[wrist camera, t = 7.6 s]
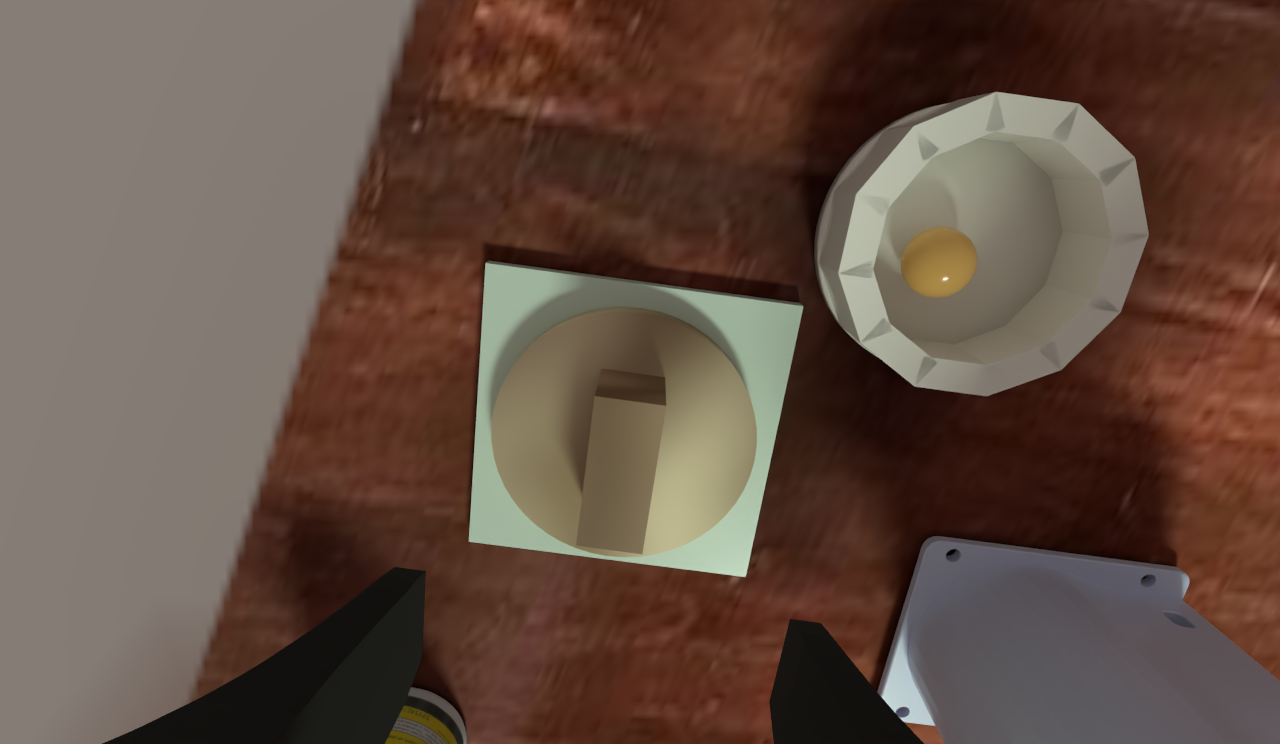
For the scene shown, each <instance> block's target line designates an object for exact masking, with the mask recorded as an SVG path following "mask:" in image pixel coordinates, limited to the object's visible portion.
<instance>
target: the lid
mask: <svg viewBox="0 0 1280 744" xmlns="http://www.w3.org/2000/svg"><path fill="white" fill-rule="evenodd" d="M491 441H492V449H493V456H494V460H495V463H496V467H497V470H498V473H499V475H500V477H501V480H502V482H503V484H504V486H505V488H506V490H507V491H508V493H509V495H510V496H511V498H512V500H513V501H514V502H515V503H516V505H517V506H518V507H519V508H520V510H521V511H522V512H523V513H524V514H525V515H526V516H527V517H528V518H529V519H530V520H531V521H532V522H533V523H534V524H535V525H537V526H538V527H539V528H541V529H542V530H543V531H545V532H546V533H547V534H549V535H551V536H552V537H554V538H556V539H557V540H559V541H561V542H563V543H565V544H568V545H570V546H572V547H574V548H577V549H580V550H583V551H587V552H590V553H594V554H599V555H604V556H613V557H641V556H648V555H654V554H659V553H662V552H666V551H670V550H673V549H675V548H678V547H680V546H683V545H685V544H687V543H689V542H691V541H693V540H695V539H697V538H698V537H700V536H702V535H703V534H704V533H706V532H707V531H709V530H710V529H711V528H713V527H714V526H715V525H716V524H717V523H718V522H719V521H720V520H722V519H723V518H724V517H725V516H726V515H727V513H728V512H729V511H730V510H731V508H732V507H733V506H734V505H735V504H736V502H737V500H738V499H739V497H740V496H741V494H742V492H743V491H744V489H745V486H746V484H747V482H748V480H749V477H750V475H751V471H752V468H753V464H754V461H755V454H756V447H757V427H756V420H755V413H754V410H753V406H752V403H751V400H750V396H749V394H748V391H747V389H746V386H745V384H744V382H743V380H742V378H741V376H740V373H739V372H738V370H737V369H736V367H735V366H734V364H733V363H732V361H731V359H730V358H729V357H728V356H727V355H726V354H725V352H724V351H723V350H722V349H721V348H720V347H719V346H718V345H717V344H716V343H715V342H714V341H713V340H712V339H710V338H709V337H708V336H707V335H706V334H704V333H703V332H701V331H700V330H698V329H697V328H695V327H694V326H692V325H690V324H688V323H686V322H684V321H682V320H680V319H678V318H676V317H673V316H670V315H667V314H665V313H662V312H658V311H653V310H648V309H644V308H632V307H614V308H603V309H598V310H592V311H588V312H585V313H582V314H579V315H576V316H573V317H571V318H568V319H566V320H564V321H562V322H560V323H558V324H556V325H555V326H553V327H552V328H550V329H549V330H547V331H546V332H544V333H543V334H541V335H540V336H539V337H538V338H537V339H536V340H535V341H533V342H532V343H531V344H530V345H529V346H528V347H527V349H526V350H525V351H524V352H523V353H522V354H521V355H520V357H519V358H518V359H517V361H516V362H515V364H514V365H513V367H512V368H511V370H510V372H509V373H508V375H507V376H506V378H505V380H504V382H503V384H502V386H501V388H500V391H499V393H498V396H497V399H496V403H495V406H494V410H493V417H492V424H491Z"/></svg>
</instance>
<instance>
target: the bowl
mask: <svg viewBox="0 0 1280 744" xmlns="http://www.w3.org/2000/svg"><path fill="white" fill-rule="evenodd" d="M1148 236H1149V233H1148V227H1147V222H1146V216H1145V210H1144V205H1143V199H1142V194H1141V188H1140V183H1139V177H1138V171H1137V166H1136V160H1135V157H1134V156H1133V155H1132V154H1131V153H1130V152H1129V151H1128V150H1127V149H1126V148H1125V147H1124V146H1122V145H1121V144H1120V143H1119V142H1118V141H1117V140H1116V139H1115V138H1114V137H1113V136H1112V135H1111V134H1110V133H1109V132H1108V131H1107V130H1106V129H1105V128H1104V127H1103V126H1102V125H1101V124H1100V123H1099V122H1098V121H1097V120H1096V119H1094V118H1093V117H1092V116H1091V115H1090V114H1089V113H1088V112H1087V111H1086V110H1085V109H1084V108H1083V107H1082V106H1081V105H1080V104H1078V103H1071V102H1064V101H1057V100H1050V99H1043V98H1036V97H1029V96H1022V95H1015V94H1008V93H1001V92H993V93H988V94H983V95H978V96H973V97H969V98H964V99H959V100H956V101H954V102H951V103H947V104H942V105H937V106H932V107H927V108H924V109H921V110H919V111H916V112H913V113H910V114H908V115H906V116H904V117H902V118H900V119H898V120H896V121H894V122H892V123H890V124H889V125H887V126H886V127H884V128H883V129H881V130H880V131H878V132H877V133H875V134H874V135H873V136H872V137H871V138H869V139H868V140H867V141H866V142H865V143H863V144H862V145H861V146H860V147H859V148H858V149H857V151H856V152H855V153H854V154H853V155H852V156H851V157H850V158H849V159H848V161H847V162H846V163H845V165H844V166H843V167H842V169H841V170H840V171H839V173H838V174H837V176H836V178H835V180H834V181H833V183H832V185H831V187H830V188H829V190H828V193H827V195H826V197H825V200H824V202H823V205H822V207H821V211H820V214H819V218H818V222H817V226H816V233H815V240H814V262H815V271H816V276H817V280H818V284H819V288H820V291H821V294H822V296H823V298H824V301H825V303H826V305H827V307H828V309H829V310H830V312H831V314H832V315H833V317H834V319H835V320H836V321H837V322H838V324H839V325H840V326H841V327H842V329H843V330H844V331H845V332H846V333H848V334H849V335H850V336H851V337H852V338H853V339H854V340H855V341H856V342H857V343H858V344H860V345H861V346H862V347H863V348H865V349H866V350H867V351H869V352H870V353H872V354H873V355H875V356H876V357H878V358H880V359H881V360H882V361H884V362H885V363H886V364H887V365H889V366H890V367H891V368H892V369H893V370H895V371H896V372H897V373H898V374H900V375H901V376H902V377H903V378H905V379H906V380H907V381H908V382H910V383H911V384H912V385H913V386H914V387H921V388H929V389H936V390H944V391H951V392H959V393H966V394H973V395H981V396H989V395H992V394H995V393H998V392H1001V391H1003V390H1006V389H1009V388H1012V387H1015V386H1018V385H1020V384H1023V383H1026V382H1029V381H1032V380H1035V379H1037V378H1040V377H1043V376H1046V375H1049V374H1052V373H1054V372H1057V371H1060V370H1062V369H1063V368H1064V367H1065V366H1066V365H1067V364H1068V363H1069V362H1070V361H1071V360H1072V359H1073V358H1074V357H1075V356H1076V355H1077V354H1078V353H1079V352H1080V351H1081V350H1082V349H1083V348H1084V347H1085V346H1087V345H1088V344H1089V343H1090V342H1091V341H1092V340H1093V339H1094V338H1095V337H1096V336H1097V335H1098V334H1099V333H1100V332H1101V331H1102V330H1103V329H1104V328H1105V327H1106V326H1107V325H1108V324H1109V323H1110V322H1111V321H1112V320H1113V319H1114V318H1115V317H1116V316H1117V315H1118V314H1119V313H1121V310H1122V307H1123V304H1124V302H1125V299H1126V296H1127V294H1128V291H1129V288H1130V285H1131V283H1132V280H1133V277H1134V274H1135V272H1136V269H1137V266H1138V264H1139V261H1140V258H1141V255H1142V253H1143V250H1144V247H1145V244H1146V242H1147V239H1148Z"/></svg>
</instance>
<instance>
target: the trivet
mask: <svg viewBox="0 0 1280 744" xmlns="http://www.w3.org/2000/svg"><path fill="white" fill-rule="evenodd" d="M614 307H632V308H644V309H648V310H653V311H658V312H662V313H665V314H667V315H670V316H673V317H676V318H678V319H680V320H682V321H684V322H686V323H688V324H690V325H692V326H694V327H695V328H697V329H698V330H700V331H701V332H703V333H704V334H706V335H707V336H708V337H709V338H710V339H712V340H713V341H714V342H715V343H716V344H717V345H718V346H719V347H720V348H721V349H722V350H723V351H724V352H725V354H726V355H727V356H728V357H729V358H730V359H731V361H732V363H733V364H734V366H735V367H736V369H737V370H738V372H739V373H740V376H741V378H742V380H743V382H744V384H745V386H746V389H747V391H748V394H749V396H750V400H751V403H752V406H753V410H754V413H755V420H756V427H757V447H756V454H755V461H754V464H753V468H752V471H751V475H750V477H749V480H748V482H747V484H746V486H745V489H744V491H743V492H742V494H741V496H740V497H739V499H738V500H737V502H736V504H735V505H734V506H733V507H732V508H731V510H730V511H729V512H728V513H727V515H726V516H725V517H724V518H723V519H722V520H720V521H719V522H718V523H717V524H716V525H715V526H714V527H713V528H711V529H710V530H709V531H707V532H706V533H704V534H703V535H702V536H700V537H698V538H697V539H695V540H693V541H691V542H689V543H687V544H685V545H683V546H680V547H678V548H675V549H673V550H670V551H666V552H662V553H659V554H654V555H648V556H641V557H613V556H604V555H599V554H594V553H590V552H587V551H583V550H580V549H577V548H574V547H572V546H570V545H568V544H565V543H563V542H561V541H559V540H557V539H556V538H554V537H552V536H551V535H549V534H547V533H546V532H545V531H543V530H542V529H541V528H539V527H538V526H537V525H535V524H534V523H533V522H532V521H531V520H530V519H529V518H528V517H527V516H526V515H525V514H524V513H523V512H522V511H521V510H520V508H519V507H518V506H517V505H516V503H515V502H514V501H513V500H512V498H511V496H510V495H509V493H508V491H507V490H506V488H505V486H504V484H503V482H502V480H501V477H500V475H499V473H498V470H497V467H496V463H495V460H494V456H493V449H492V441H491V424H492V417H493V410H494V406H495V403H496V399H497V396H498V393H499V391H500V388H501V386H502V384H503V382H504V380H505V378H506V376H507V375H508V373H509V372H510V370H511V368H512V367H513V365H514V364H515V362H516V361H517V359H518V358H519V357H520V355H521V354H522V353H523V352H524V351H525V350H526V349H527V347H528V346H529V345H530V344H531V343H532V342H533V341H535V340H536V339H537V338H538V337H539V336H540V335H541V334H543V333H544V332H546V331H547V330H549V329H550V328H552V327H553V326H555V325H556V324H558V323H560V322H562V321H564V320H566V319H568V318H571V317H573V316H576V315H579V314H582V313H585V312H588V311H592V310H598V309H603V308H614ZM802 311H803V305H802V304H801V303H797V302H789V301H782V300H775V299H767V298H760V297H753V296H745V295H738V294H730V293H723V292H716V291H708V290H701V289H694V288H686V287H679V286H672V285H664V284H657V283H650V282H642V281H635V280H628V279H620V278H613V277H606V276H598V275H591V274H584V273H576V272H569V271H562V270H554V269H547V268H539V267H532V266H525V265H517V264H510V263H503V262H495V261H488V262H486V263H485V280H484V296H483V313H482V330H481V346H480V363H479V380H478V396H477V413H476V430H475V446H474V463H473V480H472V496H471V513H470V530H469V542H476V543H484V544H492V545H500V546H508V547H515V548H523V549H531V550H539V551H547V552H554V553H562V554H570V555H578V556H586V557H593V558H601V559H609V560H617V561H625V562H632V563H640V564H648V565H656V566H664V567H672V568H679V569H687V570H695V571H703V572H711V573H718V574H726V575H734V576H742V577H746V573H747V568H748V564H749V559H750V554H751V550H752V545H753V540H754V536H755V531H756V526H757V522H758V517H759V512H760V508H761V503H762V498H763V493H764V489H765V484H766V479H767V475H768V470H769V465H770V461H771V456H772V451H773V447H774V442H775V437H776V433H777V428H778V423H779V419H780V414H781V409H782V404H783V400H784V395H785V390H786V386H787V381H788V376H789V372H790V367H791V362H792V358H793V353H794V348H795V344H796V339H797V334H798V329H799V325H800V320H801V315H802Z"/></svg>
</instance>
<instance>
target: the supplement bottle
mask: <svg viewBox="0 0 1280 744" xmlns="http://www.w3.org/2000/svg"><path fill="white" fill-rule="evenodd" d="M385 744H467V738H466V730H465V726H464V723H463V721H462V718H461V717H460V715H459V713H458V712H457V711H456V709H455V708H454V707H453V706H452V705H451V704H450V703H449V702H447V701H446V700H445V699H443V698H442V697H440V696H438V695H436V694H434V693H432V692H430V691H427V690H423V689H419V688H413V687H411V688H410V691H409V694H408V696H407V699H406V701H405V704H404V707H403V709H402V711H401V713H400V715H399V717H398V719H397V721H396V723H395V725H394V727H393V729H392V731H391V733H390V735H389V737H388V739H387V740H386V742H385Z"/></svg>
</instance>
